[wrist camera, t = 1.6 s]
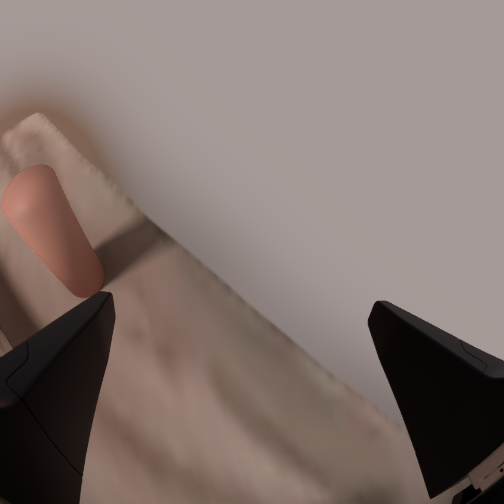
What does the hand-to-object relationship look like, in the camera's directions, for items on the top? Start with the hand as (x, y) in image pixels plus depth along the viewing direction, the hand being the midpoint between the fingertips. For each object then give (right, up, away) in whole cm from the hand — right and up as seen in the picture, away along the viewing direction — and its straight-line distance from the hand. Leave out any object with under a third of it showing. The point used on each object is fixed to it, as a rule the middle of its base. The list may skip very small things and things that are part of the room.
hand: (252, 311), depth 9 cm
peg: (-15, 0, +13) cm, 20 cm away
